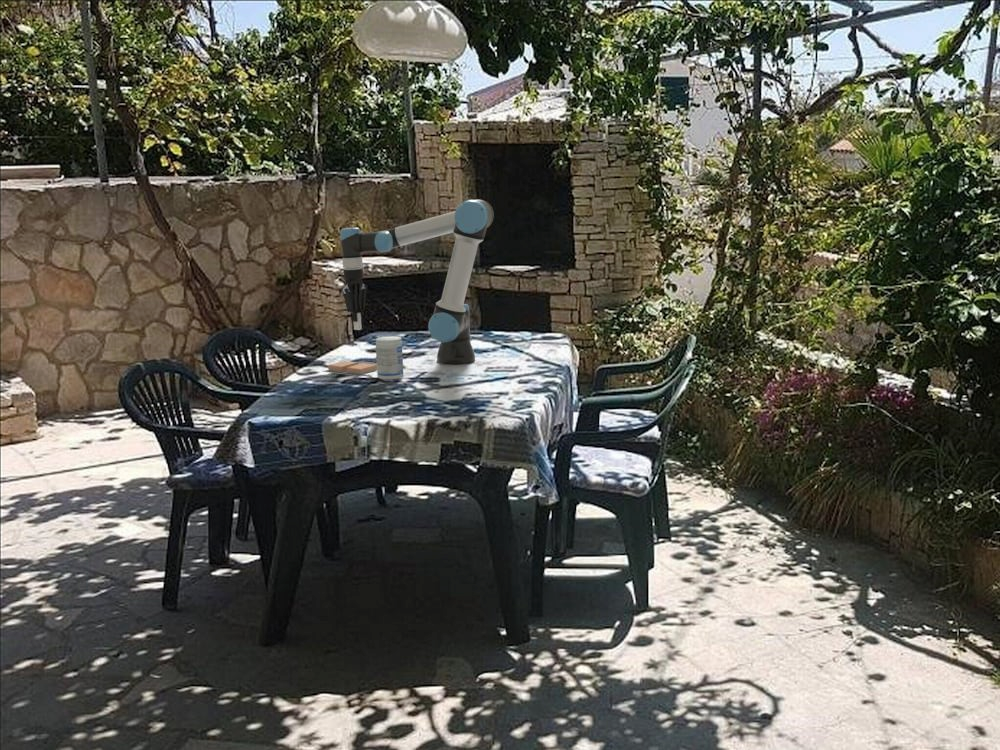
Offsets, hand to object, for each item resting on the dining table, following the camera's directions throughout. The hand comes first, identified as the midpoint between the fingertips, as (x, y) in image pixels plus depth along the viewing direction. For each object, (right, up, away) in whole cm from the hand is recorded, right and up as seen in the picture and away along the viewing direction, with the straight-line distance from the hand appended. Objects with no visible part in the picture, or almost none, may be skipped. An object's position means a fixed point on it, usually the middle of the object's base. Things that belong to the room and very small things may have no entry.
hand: (357, 329), depth 342 cm
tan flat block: (-3, -13, 0) cm, 14 cm away
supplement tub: (+15, -19, -19) cm, 31 cm away
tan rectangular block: (+5, -14, -5) cm, 16 cm away
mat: (+1, -16, -3) cm, 16 cm away
